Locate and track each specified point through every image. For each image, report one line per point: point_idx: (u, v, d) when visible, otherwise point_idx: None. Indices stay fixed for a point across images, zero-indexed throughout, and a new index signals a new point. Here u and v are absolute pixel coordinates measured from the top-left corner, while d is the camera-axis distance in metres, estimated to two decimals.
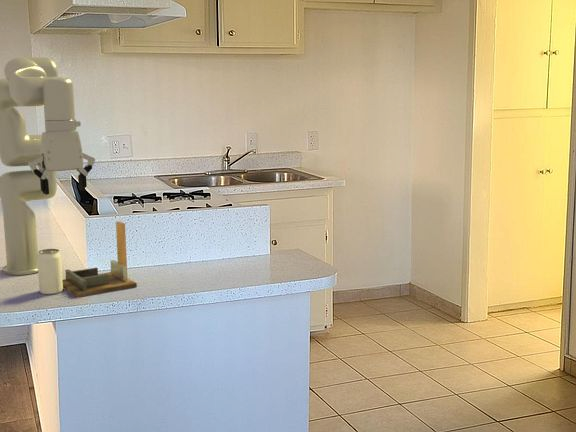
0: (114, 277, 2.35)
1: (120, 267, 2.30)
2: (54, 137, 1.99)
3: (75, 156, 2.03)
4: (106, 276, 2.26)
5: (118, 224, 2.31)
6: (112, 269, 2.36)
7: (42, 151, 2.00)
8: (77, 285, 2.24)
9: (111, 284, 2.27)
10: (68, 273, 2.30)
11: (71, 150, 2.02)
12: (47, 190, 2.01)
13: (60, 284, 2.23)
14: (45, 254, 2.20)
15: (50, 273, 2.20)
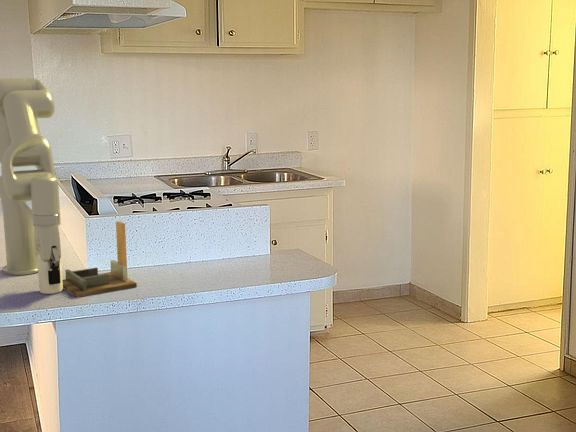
0: (114, 277, 2.35)
1: (120, 267, 2.30)
2: None
3: None
4: (106, 276, 2.26)
5: (118, 224, 2.31)
6: (112, 269, 2.36)
7: (53, 244, 2.18)
8: (77, 285, 2.24)
9: (111, 284, 2.27)
10: (68, 273, 2.30)
11: None
12: None
13: (60, 284, 2.23)
14: None
15: None
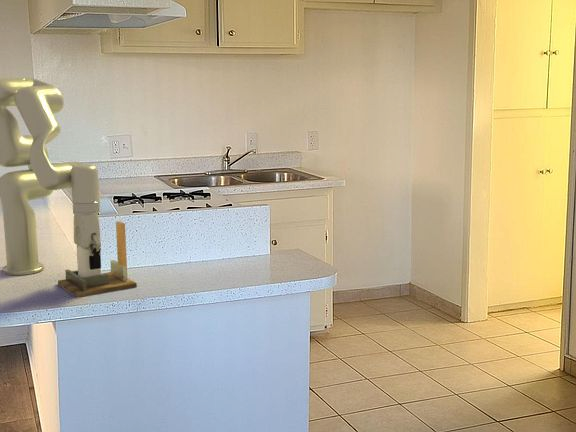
0: (114, 277, 2.35)
1: (120, 267, 2.30)
2: None
3: None
4: (106, 276, 2.26)
5: (118, 224, 2.31)
6: (112, 269, 2.36)
7: (93, 231, 2.22)
8: (77, 285, 2.24)
9: (111, 284, 2.27)
10: (68, 273, 2.30)
11: None
12: None
13: None
14: None
15: (89, 264, 2.25)
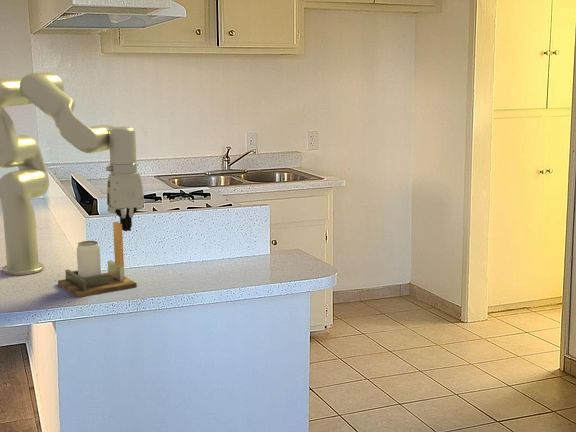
0: None
1: (117, 267, 2.30)
2: None
3: None
4: (106, 276, 2.26)
5: (115, 224, 2.31)
6: (109, 269, 2.35)
7: None
8: (77, 285, 2.24)
9: (111, 284, 2.27)
10: (68, 273, 2.30)
11: None
12: None
13: None
14: (85, 246, 2.24)
15: (89, 264, 2.25)
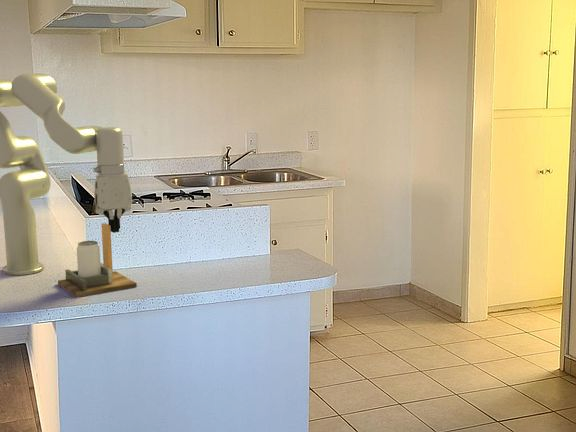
0: (114, 277, 2.35)
1: (105, 269, 2.28)
2: None
3: None
4: (106, 276, 2.26)
5: (103, 226, 2.29)
6: None
7: None
8: (77, 285, 2.24)
9: (111, 284, 2.27)
10: (68, 273, 2.30)
11: None
12: None
13: None
14: (85, 246, 2.24)
15: (89, 264, 2.25)
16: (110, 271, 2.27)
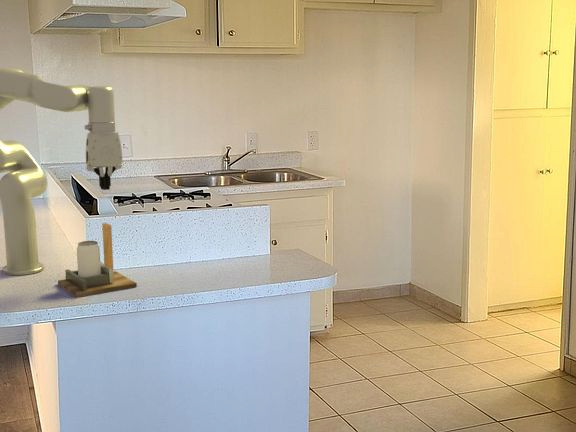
0: (114, 277, 2.35)
1: (106, 269, 2.28)
2: None
3: None
4: (106, 276, 2.26)
5: (104, 226, 2.29)
6: None
7: None
8: (77, 285, 2.24)
9: (111, 284, 2.27)
10: (68, 273, 2.30)
11: None
12: None
13: None
14: (85, 246, 2.24)
15: (89, 264, 2.25)
16: (111, 271, 2.27)
